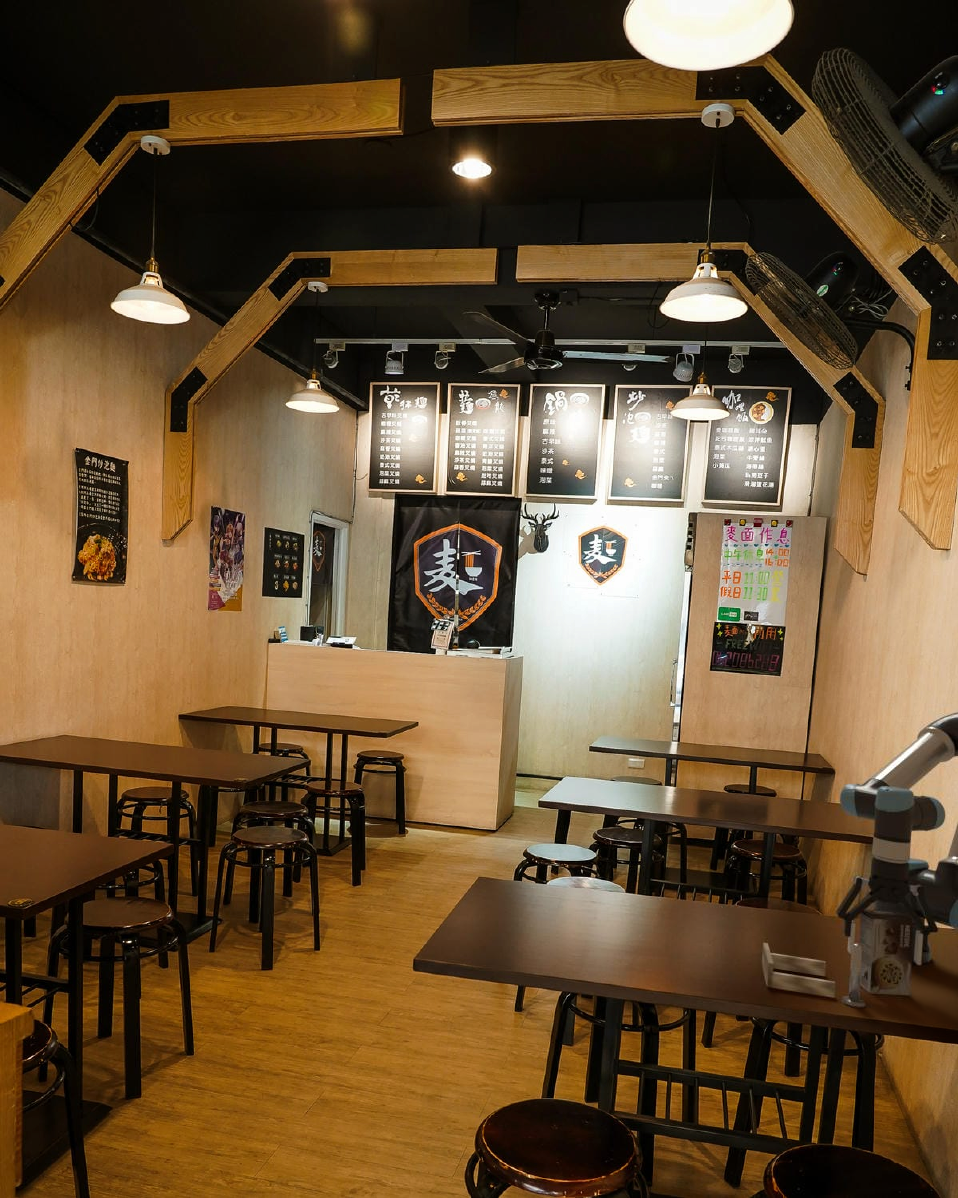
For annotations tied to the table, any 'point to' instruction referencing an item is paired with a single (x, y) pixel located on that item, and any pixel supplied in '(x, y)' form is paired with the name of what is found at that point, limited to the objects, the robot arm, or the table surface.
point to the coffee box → (886, 952)
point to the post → (855, 978)
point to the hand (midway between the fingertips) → (883, 957)
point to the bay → (795, 981)
